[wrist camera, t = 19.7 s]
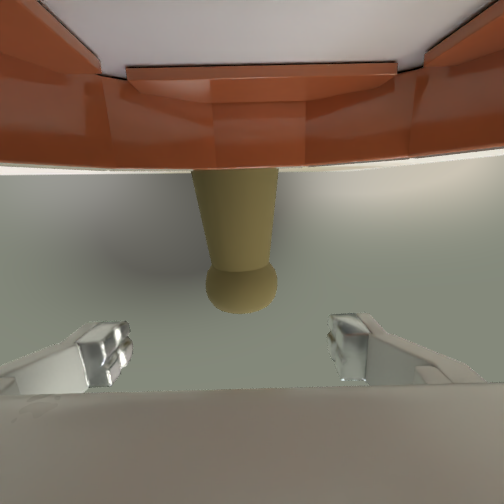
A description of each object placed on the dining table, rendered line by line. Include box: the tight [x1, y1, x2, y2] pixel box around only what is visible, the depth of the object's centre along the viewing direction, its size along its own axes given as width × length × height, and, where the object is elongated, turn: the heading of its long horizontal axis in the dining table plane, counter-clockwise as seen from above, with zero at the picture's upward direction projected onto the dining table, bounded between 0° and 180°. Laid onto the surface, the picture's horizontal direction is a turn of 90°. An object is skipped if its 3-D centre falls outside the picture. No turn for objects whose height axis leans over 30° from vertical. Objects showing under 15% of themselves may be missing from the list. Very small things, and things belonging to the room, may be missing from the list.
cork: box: [191, 169, 279, 314], centre depth 17 cm, size 6×6×11 cm
